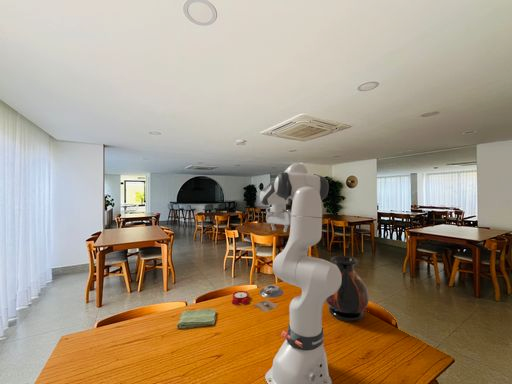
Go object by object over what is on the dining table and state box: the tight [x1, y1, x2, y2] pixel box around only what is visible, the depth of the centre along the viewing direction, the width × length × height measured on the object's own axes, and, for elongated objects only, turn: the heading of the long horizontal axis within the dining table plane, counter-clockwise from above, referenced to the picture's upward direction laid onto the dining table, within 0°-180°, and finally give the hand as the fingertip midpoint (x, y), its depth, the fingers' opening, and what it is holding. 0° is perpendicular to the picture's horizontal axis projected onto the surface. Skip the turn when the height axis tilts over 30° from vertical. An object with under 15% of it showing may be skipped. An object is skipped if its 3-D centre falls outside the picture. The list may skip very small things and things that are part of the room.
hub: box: [259, 285, 284, 299], centre depth 133 cm, size 15×15×4 cm
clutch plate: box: [263, 284, 280, 295], centre depth 132 cm, size 6×8×3 cm
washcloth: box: [176, 308, 217, 330], centre depth 105 cm, size 13×18×3 cm
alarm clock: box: [231, 290, 250, 307], centre depth 123 cm, size 10×6×15 cm
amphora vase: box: [325, 255, 370, 323], centre depth 109 cm, size 22×22×28 cm
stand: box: [253, 299, 279, 313], centre depth 116 cm, size 10×10×2 cm
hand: (279, 231), depth 134 cm, fingers open, 8 cm apart
